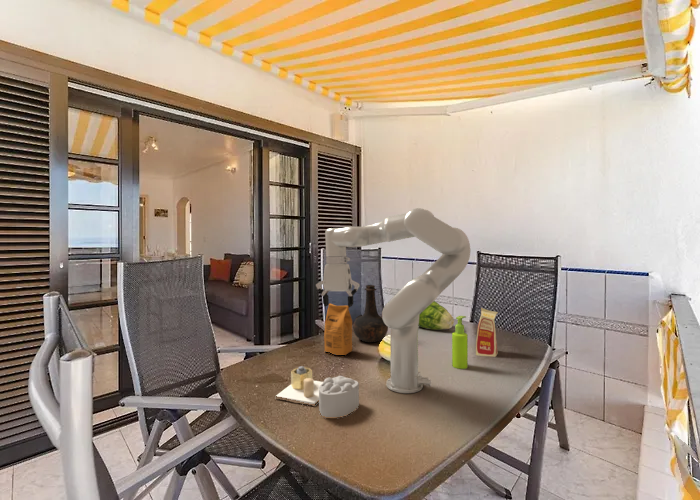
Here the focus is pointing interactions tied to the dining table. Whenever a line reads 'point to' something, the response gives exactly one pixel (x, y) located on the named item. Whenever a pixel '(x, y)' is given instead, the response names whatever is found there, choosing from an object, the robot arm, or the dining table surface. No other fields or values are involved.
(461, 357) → the soap dispenser
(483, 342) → the milk carton
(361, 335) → the glass bottle
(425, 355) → the dining table surface
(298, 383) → the brass collar
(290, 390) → the post board
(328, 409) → the lumpy-topped squat cylinder
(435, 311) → the lettuce
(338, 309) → the coffee package
